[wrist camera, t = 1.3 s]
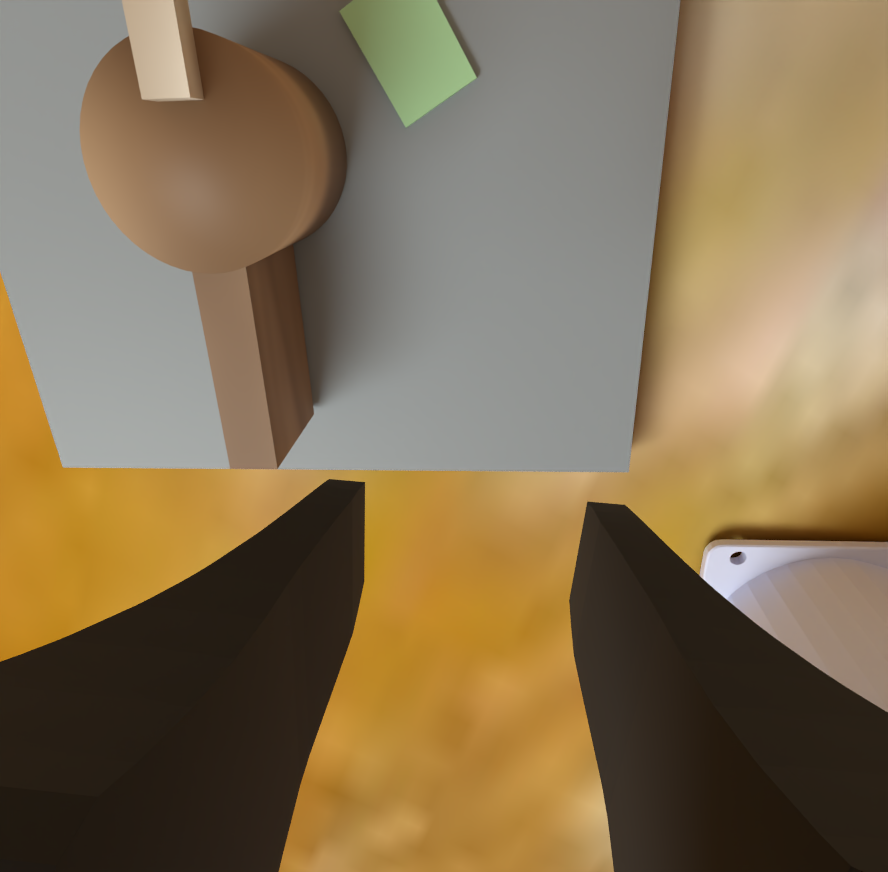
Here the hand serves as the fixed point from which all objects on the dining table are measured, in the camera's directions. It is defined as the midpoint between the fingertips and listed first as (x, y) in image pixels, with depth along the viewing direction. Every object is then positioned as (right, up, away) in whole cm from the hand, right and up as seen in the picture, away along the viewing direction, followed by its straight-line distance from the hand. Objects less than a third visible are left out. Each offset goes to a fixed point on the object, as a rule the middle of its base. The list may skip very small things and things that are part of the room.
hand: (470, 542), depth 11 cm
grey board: (-4, +9, +7) cm, 12 cm away
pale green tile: (-1, +11, +4) cm, 12 cm away
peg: (-5, +8, +6) cm, 11 cm away
